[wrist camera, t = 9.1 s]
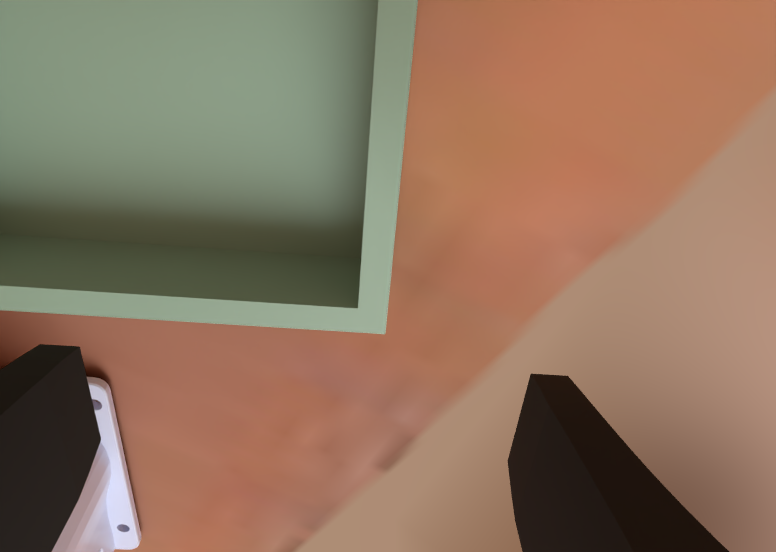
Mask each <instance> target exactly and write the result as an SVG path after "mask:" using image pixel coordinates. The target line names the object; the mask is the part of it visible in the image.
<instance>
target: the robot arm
mask: <svg viewBox="0 0 776 552" xmlns="http://www.w3.org/2000/svg"><path fill="white" fill-rule="evenodd" d="M93 399H94V400H93ZM95 400H98V401H99V402H96V401H95ZM100 402H101V403H100ZM508 468H509V476H510V485H511V494H512V500H513V508H514V515H515V522H516V526H517V530H518V534H519V539H520V543H521V547H522V551H523V552H729V551H728V550H727V549H726V548H725V547H724V546H723V545H722V544H721V543H720V542H718V541H717V540H716V539H715V538H714V537H713V536H712V535H711V534H710V533H709V532H708V531H707V530H706V529H705V528H704V527H703V526H702V525H701V524H700V523H699V522H698V521H697V520H696V519H695V518H694V517H693V516H692V515H691V514H690V513H689V512H688V511H687V510H686V509H685V508H684V507H683V506H682V505H681V503H680V502H679V501H678V500H677V499H676V498H675V497H674V496H673V495H672V494H671V493H670V492H669V491H668V490H667V489H666V488H665V487H664V486H663V485H662V483H660V481H659V480H658V479H657V478H656V477H655V476H654V475H653V474H652V473H651V472H650V470H649V469H648V468H647V467H646V466H645V465H644V464H643V463H642V462H641V460H640V459H639V458H638V457H637V456H636V455H635V454H634V453H633V451H631V449H630V448H629V447H628V446H627V445H626V443H625V442H624V441H623V440H622V439H621V438H620V437H619V435H618V434H617V433H616V432H615V431H614V430H613V429H612V427H611V426H610V425H609V424H608V423H607V421H606V420H605V419H604V418H603V417H602V416H601V414H600V413H599V412H598V411H597V410H596V409H595V407H594V406H593V405H592V404H591V403H590V401H589V400H588V399H587V398H586V397H585V395H584V394H583V393H582V392H581V391H580V390H579V388H578V387H577V386H576V385H575V384H574V383H573V381H572V380H571V379H570V378H569V377H568V376H559V375H543V374H531V375H530V379H529V383H528V387H527V390H526V394H525V398H524V402H523V405H522V409H521V413H520V417H519V421H518V424H517V428H516V432H515V435H514V439H513V443H512V447H511V451H510V454H509V458H508ZM140 540H141V532H140V527H139V523H138V518H137V513H136V508H135V504H134V499H133V494H132V489H131V485H130V480H129V475H128V470H127V466H126V461H125V456H124V451H123V447H122V442H121V437H120V432H119V428H118V423H117V418H116V413H115V409H114V404H113V399H112V394H111V390H110V387H109V385H108V384H107V383H106V382H105V381H104V380H102V379H100V378H96V377H87V376H86V372H85V368H84V364H83V359H82V355H81V351H80V347H76V346H59V345H43V344H40V345H38V346H37V347H35V348H33V349H32V350H30V351H29V352H27V353H25V354H24V355H22V356H21V357H19V358H18V359H16V360H15V361H13V362H11V363H10V364H8V365H7V366H5V367H4V368H2V369H1V370H0V552H113V551H114V549H134V548H136V547H138V545H139V543H140Z"/></svg>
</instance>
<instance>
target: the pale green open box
mask: <svg viewBox="0 0 776 552" xmlns="http://www.w3.org/2000/svg"><path fill="white" fill-rule="evenodd" d="M417 4H418V0H0V310H6V311H22V312H39V313H55V314H71V315H87V316H103V317H119V318H135V319H151V320H167V321H183V322H199V323H215V324H231V325H247V326H264V327H280V328H296V329H312V330H328V331H344V332H360V333H376V334H385V332H386V322H387V311H388V301H389V291H390V281H391V270H392V260H393V250H394V240H395V229H396V219H397V209H398V199H399V188H400V178H401V168H402V158H403V147H404V137H405V127H406V117H407V106H408V96H409V86H410V76H411V65H412V55H413V45H414V35H415V24H416V14H417Z"/></svg>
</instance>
